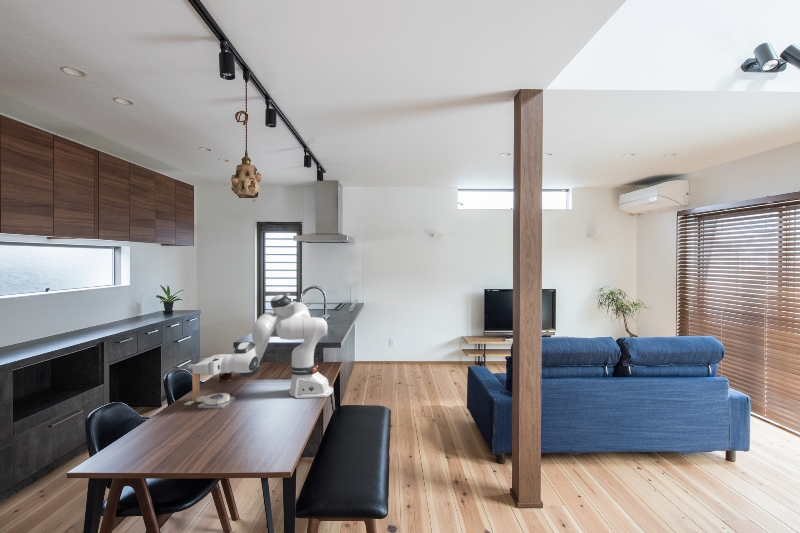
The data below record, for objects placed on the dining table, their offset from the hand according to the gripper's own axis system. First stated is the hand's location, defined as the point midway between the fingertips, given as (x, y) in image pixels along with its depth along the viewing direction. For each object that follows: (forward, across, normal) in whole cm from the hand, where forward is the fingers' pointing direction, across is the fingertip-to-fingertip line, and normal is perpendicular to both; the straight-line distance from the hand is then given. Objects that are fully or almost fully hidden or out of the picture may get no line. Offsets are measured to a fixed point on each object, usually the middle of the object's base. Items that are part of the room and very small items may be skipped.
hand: (194, 363), depth 186 cm
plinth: (-11, 0, +20) cm, 22 cm away
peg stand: (-8, 0, +18) cm, 20 cm away
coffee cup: (+4, -37, +21) cm, 43 cm away
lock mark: (+3, 0, +20) cm, 20 cm away
